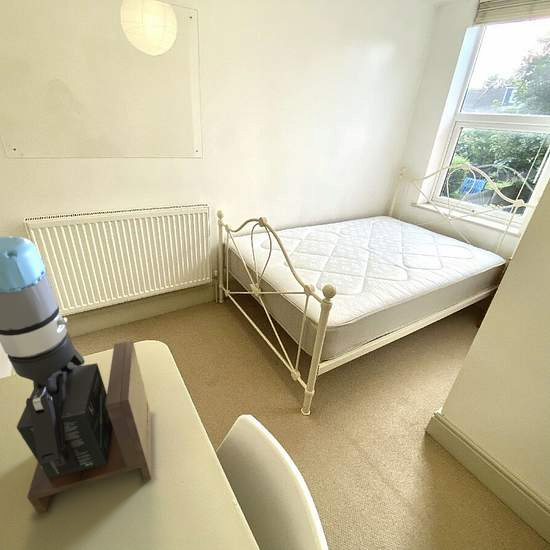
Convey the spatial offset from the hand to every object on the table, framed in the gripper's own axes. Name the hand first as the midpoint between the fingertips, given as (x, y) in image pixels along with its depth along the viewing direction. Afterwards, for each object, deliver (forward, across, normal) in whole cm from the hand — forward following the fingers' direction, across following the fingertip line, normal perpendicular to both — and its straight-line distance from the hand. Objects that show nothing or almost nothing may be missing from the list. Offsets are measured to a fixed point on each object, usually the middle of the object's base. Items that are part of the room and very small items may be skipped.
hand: (78, 431), depth 55 cm
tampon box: (+4, 0, 0) cm, 4 cm away
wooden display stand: (+10, 0, -2) cm, 10 cm away
